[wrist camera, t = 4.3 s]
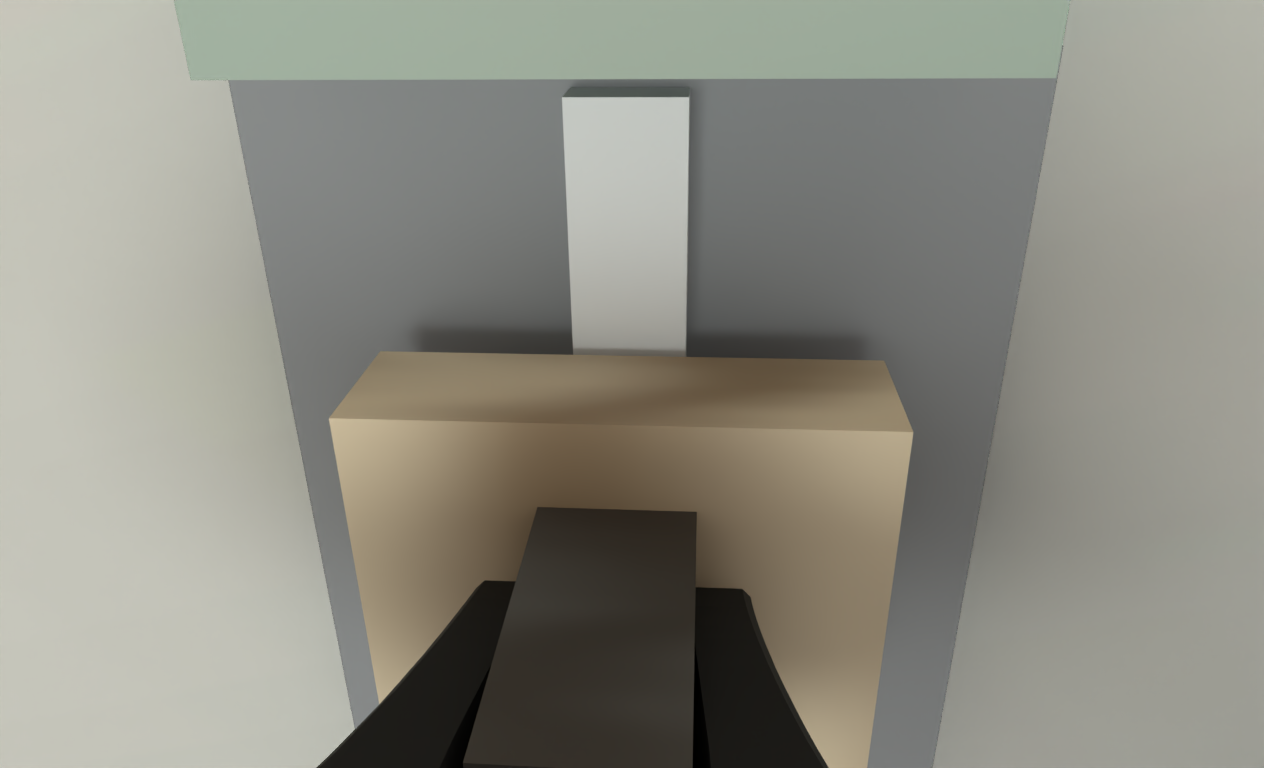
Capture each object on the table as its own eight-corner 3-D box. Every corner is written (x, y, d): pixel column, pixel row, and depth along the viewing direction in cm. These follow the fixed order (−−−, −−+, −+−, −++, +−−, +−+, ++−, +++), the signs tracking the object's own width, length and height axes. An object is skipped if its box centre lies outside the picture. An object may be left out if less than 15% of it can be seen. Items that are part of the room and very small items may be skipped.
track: (1033, 36, 13) (1086, 53, 11) (890, 892, 21) (907, 983, 19) (260, 40, 14) (192, 57, 12) (406, 864, 22) (379, 949, 20)
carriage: (884, 360, 13) (1015, 681, 7) (845, 692, 15) (920, 1107, 10) (380, 351, 13) (154, 645, 8) (426, 674, 16) (282, 1059, 10)
